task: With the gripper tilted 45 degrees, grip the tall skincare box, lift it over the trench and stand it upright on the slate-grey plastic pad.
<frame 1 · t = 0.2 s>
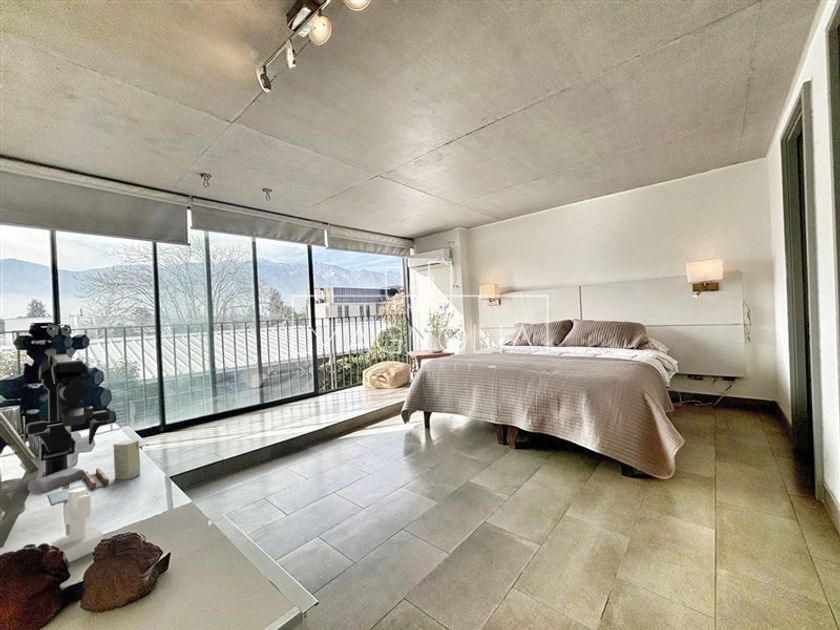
hand: (70, 448, 113), 14 cm above the counter, tool pointing down, fingers open, 9 cm apart
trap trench: (96, 481, 121), on the counter
stone block: (55, 484, 120), on the counter
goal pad: (68, 494, 112), on the counter
skincare box: (127, 477, 124), on the counter
figurine: (77, 554, 82), on the counter
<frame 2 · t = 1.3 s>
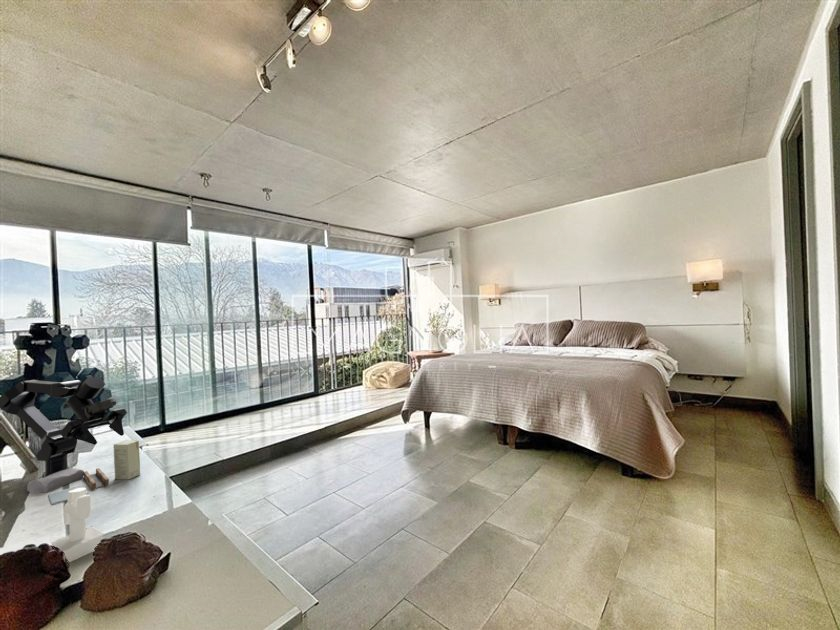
hand: (110, 439, 125), 13 cm above the counter, tool tilted 45°, fingers open, 9 cm apart
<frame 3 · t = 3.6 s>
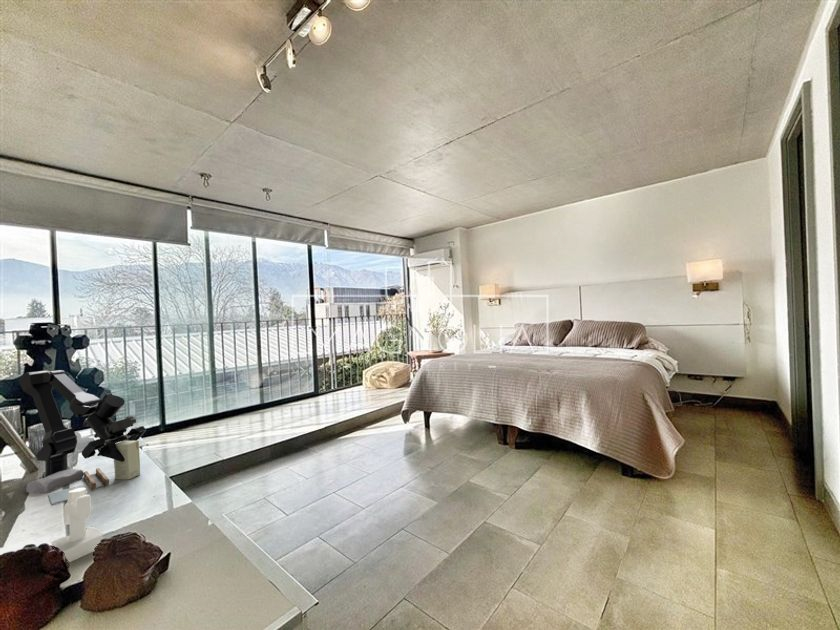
hand: (130, 458, 124), 7 cm above the counter, tool tilted 45°, fingers closed on skincare box, 4 cm apart
skincare box: (127, 477, 124), on the counter, touching gripper
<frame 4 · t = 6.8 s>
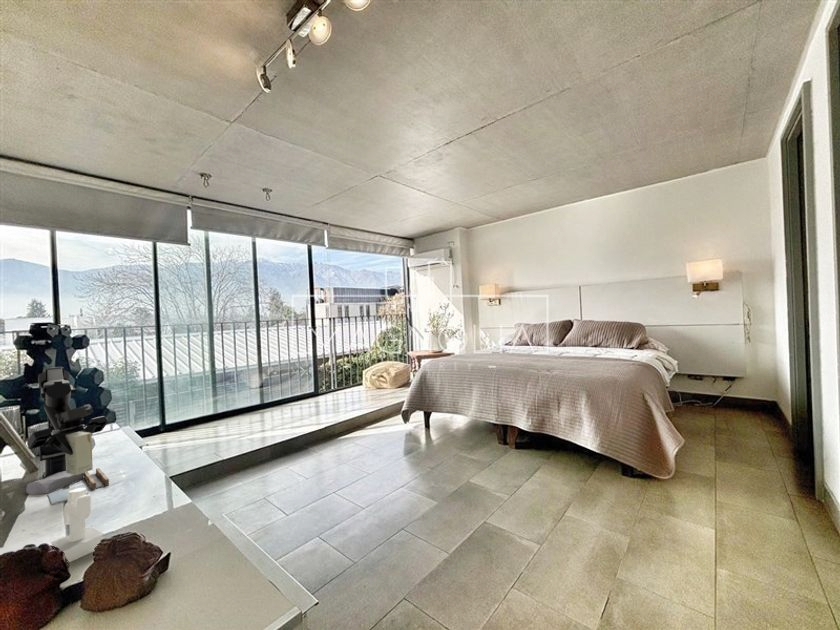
hand: (81, 451, 113), 13 cm above the counter, tool tilted 45°, fingers closed on skincare box, 4 cm apart
skincare box: (79, 472, 114), point 6 cm above the counter, touching gripper
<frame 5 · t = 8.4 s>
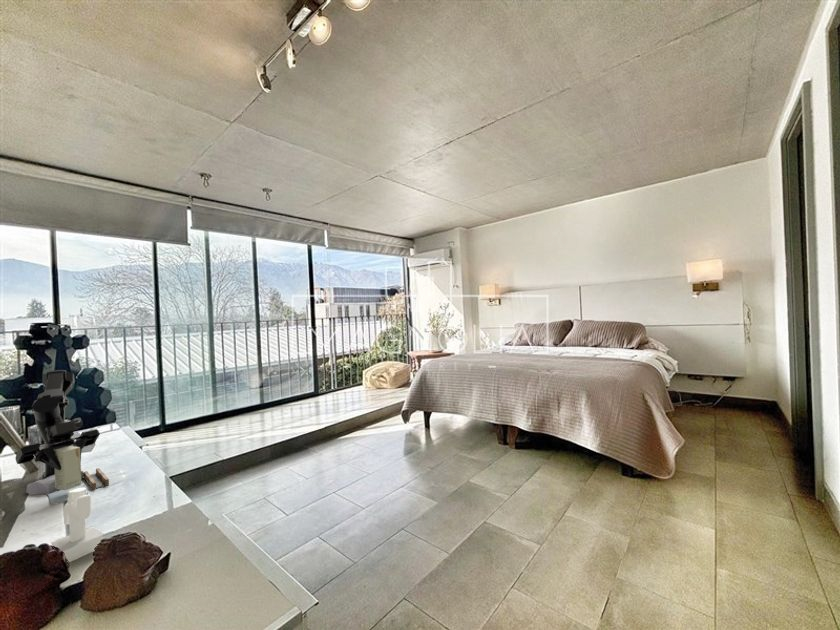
hand: (69, 466, 111), 9 cm above the counter, tool tilted 45°, fingers closed on skincare box, 4 cm apart
stone block: (54, 487, 119), on the counter, touching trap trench
skincare box: (68, 487, 112), point 2 cm above the counter, touching gripper
everything else where it was.
when the fingers open (8 cm above the counter, at t = 9.8 s): skincare box stays where it is, resting on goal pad.
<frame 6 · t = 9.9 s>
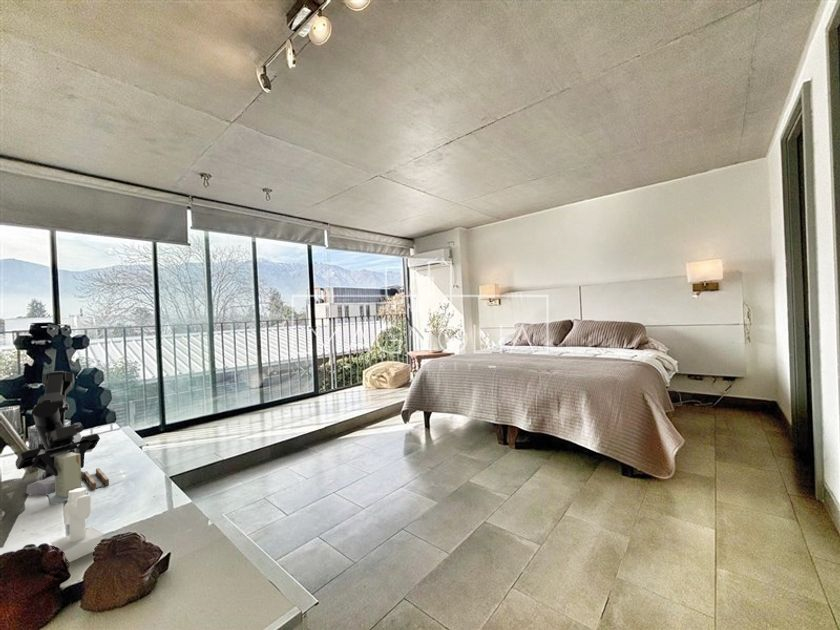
hand: (70, 471, 111), 8 cm above the counter, tool tilted 45°, fingers open, 6 cm apart
stone block: (54, 487, 118), on the counter
skincare box: (68, 494, 112), resting on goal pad
everything else where it was.
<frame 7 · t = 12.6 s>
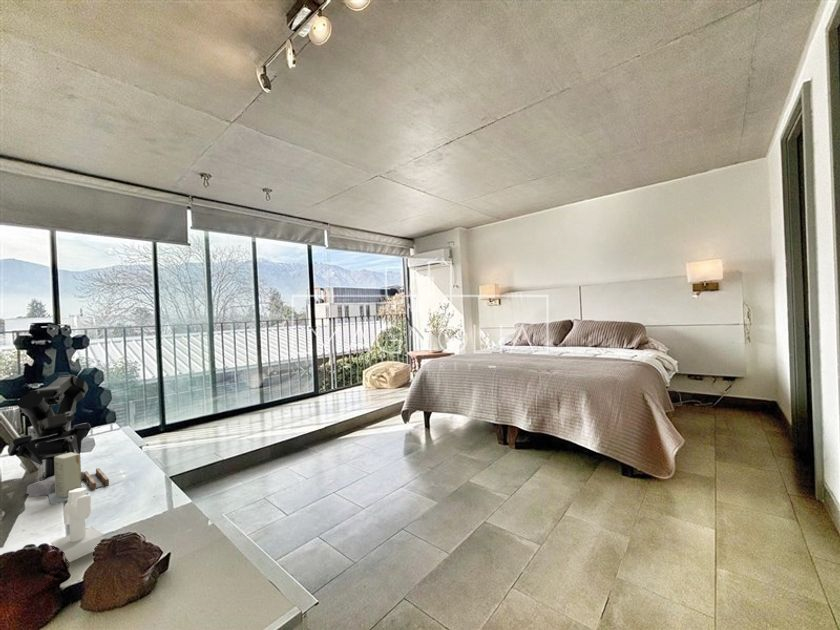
hand: (61, 458, 114), 11 cm above the counter, tool tilted 45°, fingers open, 9 cm apart
stone block: (55, 488, 118), on the counter, touching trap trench
everything else where it was.
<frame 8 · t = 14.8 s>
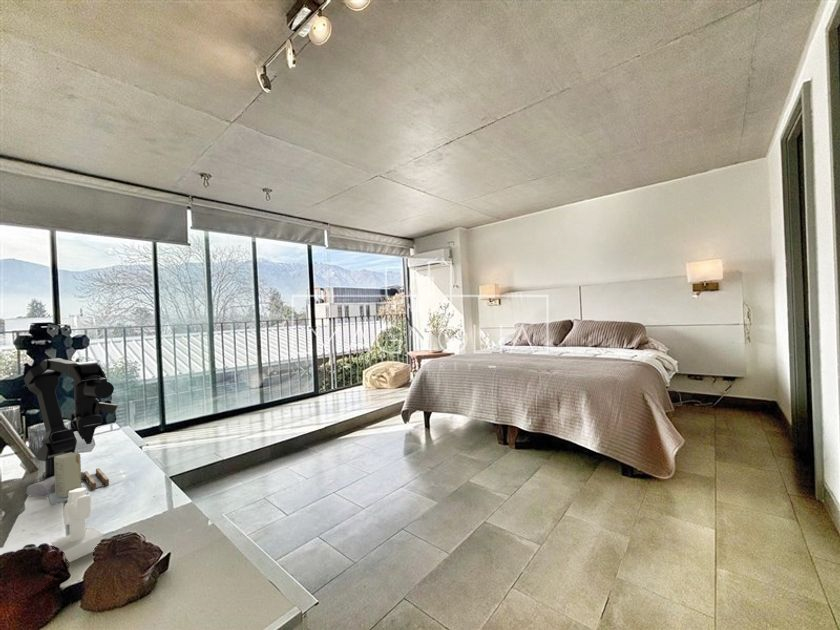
hand: (86, 441, 124), 13 cm above the counter, tool pointing down, fingers open, 9 cm apart
stone block: (55, 488, 118), on the counter
everything else where it was.
at the end: skincare box inside the target area on the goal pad (0.1 cm from its centre), point 0.2 cm above the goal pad's base; skincare box tilted 0°; the gripper is holding nothing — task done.
